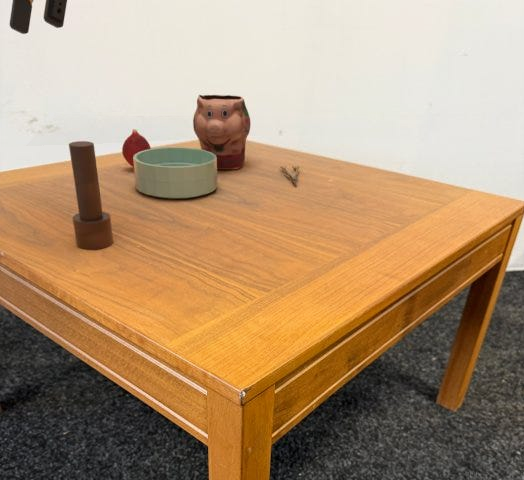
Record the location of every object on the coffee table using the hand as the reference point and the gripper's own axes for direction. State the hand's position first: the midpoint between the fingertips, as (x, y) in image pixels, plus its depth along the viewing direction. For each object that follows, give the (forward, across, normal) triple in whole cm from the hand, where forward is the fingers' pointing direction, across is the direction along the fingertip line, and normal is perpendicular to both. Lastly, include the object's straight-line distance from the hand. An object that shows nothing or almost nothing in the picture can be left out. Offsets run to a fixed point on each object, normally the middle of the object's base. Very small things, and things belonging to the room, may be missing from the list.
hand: (35, 28), depth 69 cm
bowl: (+12, -10, +36) cm, 39 cm away
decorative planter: (+2, -18, +54) cm, 57 cm away
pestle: (+25, +2, +12) cm, 28 cm away
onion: (+8, -26, +38) cm, 47 cm away
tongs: (+4, 0, +57) cm, 57 cm away
